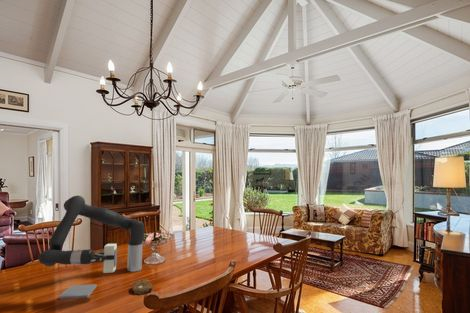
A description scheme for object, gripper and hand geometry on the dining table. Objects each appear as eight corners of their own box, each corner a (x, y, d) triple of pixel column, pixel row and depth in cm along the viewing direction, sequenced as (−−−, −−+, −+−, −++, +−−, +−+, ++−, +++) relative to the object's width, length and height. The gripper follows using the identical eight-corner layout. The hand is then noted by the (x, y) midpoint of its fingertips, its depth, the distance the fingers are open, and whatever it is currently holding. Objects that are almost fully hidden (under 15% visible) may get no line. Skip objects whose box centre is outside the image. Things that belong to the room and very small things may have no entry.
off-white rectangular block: (106, 269, 147) (107, 243, 148) (116, 268, 148) (117, 243, 149) (103, 272, 142) (104, 246, 143) (114, 272, 143) (115, 246, 144)
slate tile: (70, 287, 152) (70, 285, 152) (96, 286, 155) (96, 284, 155) (58, 299, 138) (58, 296, 139) (87, 297, 141) (87, 295, 141)
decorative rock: (129, 287, 156) (133, 298, 143) (129, 280, 156) (133, 291, 143) (149, 282, 161) (155, 293, 148) (149, 275, 161) (155, 285, 148)
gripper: (76, 254, 136) (111, 252, 139) (87, 246, 150) (119, 245, 153) (76, 268, 136) (111, 267, 139) (87, 259, 150) (118, 258, 153)
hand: (115, 255), depth 146 cm, fingers closed on off-white rectangular block, 5 cm apart
